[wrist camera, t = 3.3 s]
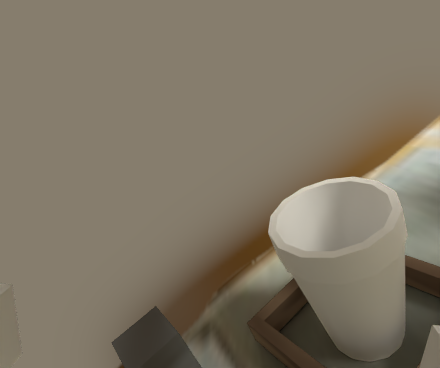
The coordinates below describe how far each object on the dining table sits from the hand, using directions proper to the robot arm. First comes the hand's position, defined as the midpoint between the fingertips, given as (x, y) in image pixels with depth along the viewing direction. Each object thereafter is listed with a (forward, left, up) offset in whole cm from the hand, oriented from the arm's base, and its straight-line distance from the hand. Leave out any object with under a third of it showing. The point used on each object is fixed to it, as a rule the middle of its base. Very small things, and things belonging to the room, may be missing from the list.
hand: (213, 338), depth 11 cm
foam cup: (-13, -8, -20) cm, 25 cm away
